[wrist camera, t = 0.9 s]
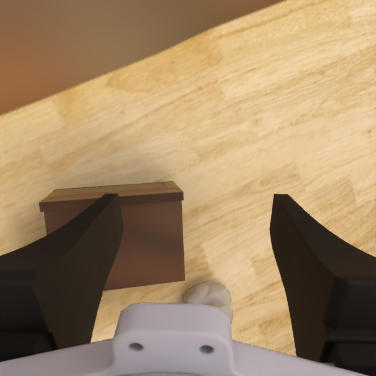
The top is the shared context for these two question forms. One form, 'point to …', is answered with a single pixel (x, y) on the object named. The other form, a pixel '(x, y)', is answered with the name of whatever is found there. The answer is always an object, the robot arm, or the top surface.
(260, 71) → the top surface
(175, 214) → the wooden box
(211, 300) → the beige rounded piece
